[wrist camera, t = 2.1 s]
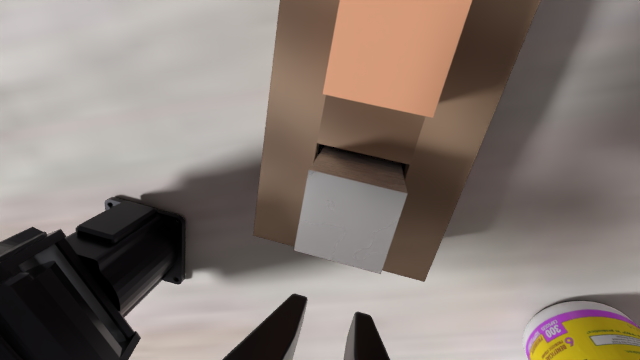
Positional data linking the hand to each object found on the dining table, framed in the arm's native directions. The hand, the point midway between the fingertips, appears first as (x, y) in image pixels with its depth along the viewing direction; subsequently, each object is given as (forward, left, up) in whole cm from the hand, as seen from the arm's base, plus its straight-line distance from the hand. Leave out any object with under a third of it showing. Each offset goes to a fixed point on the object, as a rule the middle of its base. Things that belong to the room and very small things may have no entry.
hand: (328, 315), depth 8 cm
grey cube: (0, 0, -9) cm, 9 cm away
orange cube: (+7, 0, -9) cm, 11 cm away
